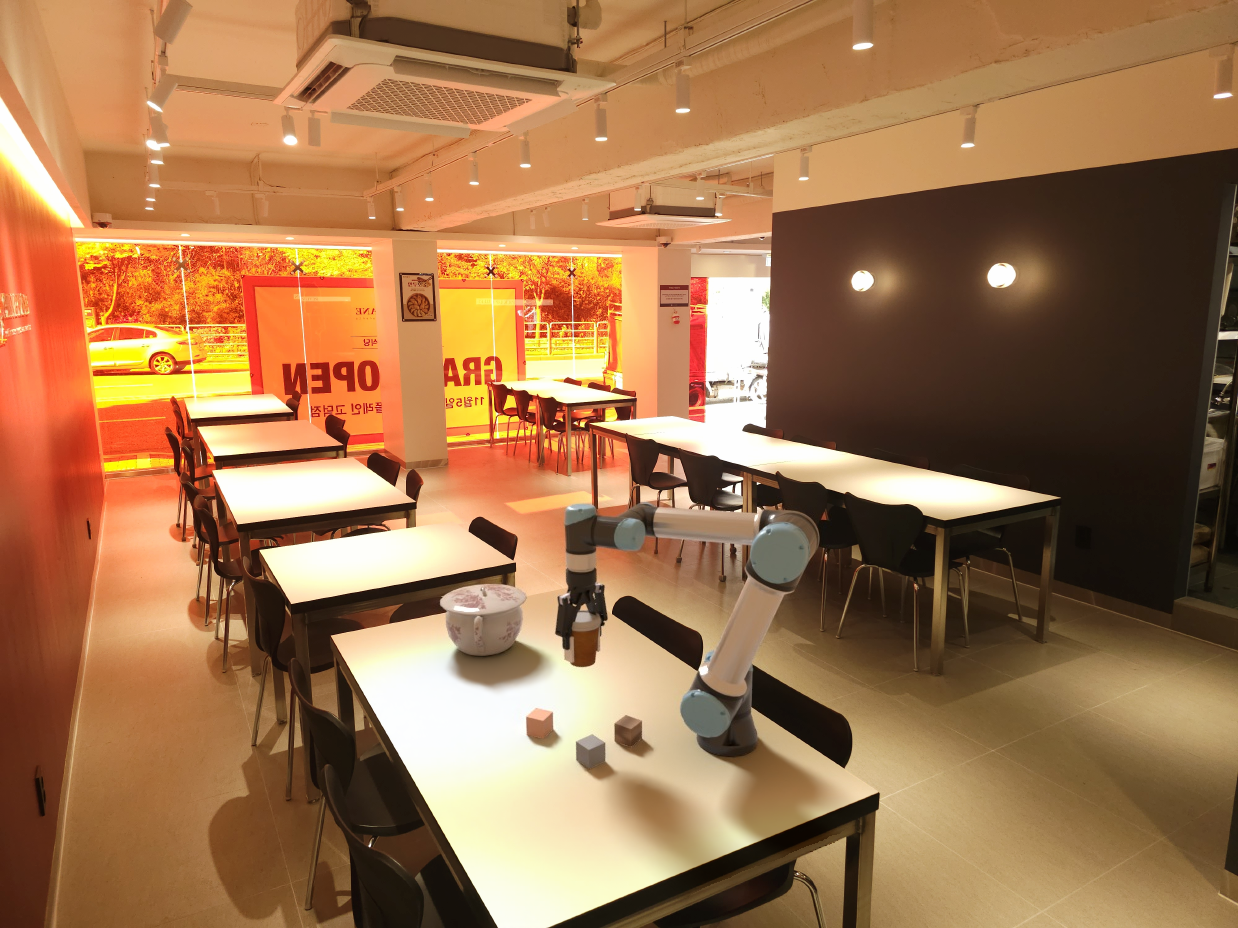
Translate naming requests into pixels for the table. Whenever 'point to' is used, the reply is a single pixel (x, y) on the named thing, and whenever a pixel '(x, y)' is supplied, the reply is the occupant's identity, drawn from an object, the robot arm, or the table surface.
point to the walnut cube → (628, 731)
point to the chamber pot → (484, 617)
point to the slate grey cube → (590, 751)
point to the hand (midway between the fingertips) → (582, 655)
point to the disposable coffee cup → (585, 638)
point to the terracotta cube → (539, 723)
